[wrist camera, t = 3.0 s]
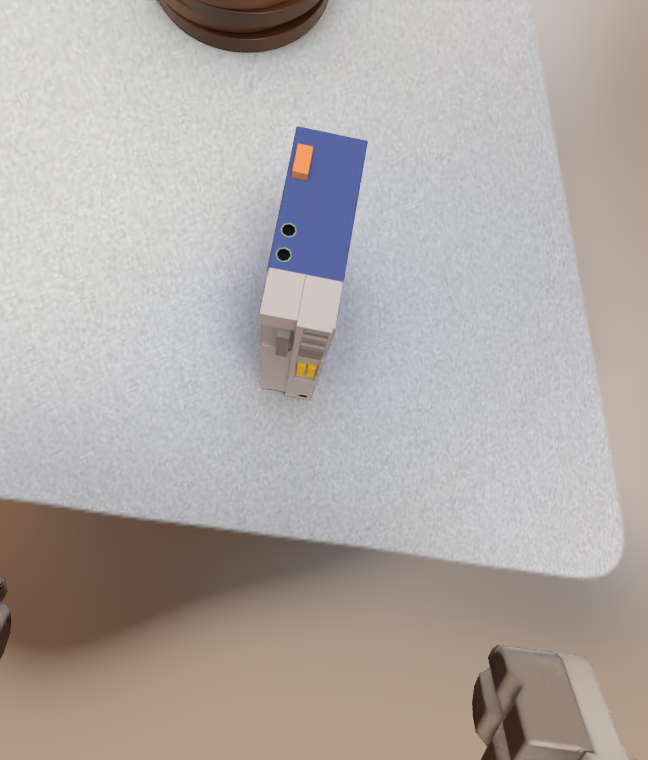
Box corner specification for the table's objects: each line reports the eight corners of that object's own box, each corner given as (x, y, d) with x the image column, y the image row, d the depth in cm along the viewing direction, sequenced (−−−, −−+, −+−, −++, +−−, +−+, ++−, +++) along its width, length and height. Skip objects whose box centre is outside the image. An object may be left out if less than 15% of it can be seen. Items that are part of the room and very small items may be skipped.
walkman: (285, 258, 34) (296, 119, 22) (333, 267, 34) (370, 134, 22) (258, 392, 32) (254, 317, 20) (310, 402, 32) (335, 333, 20)
